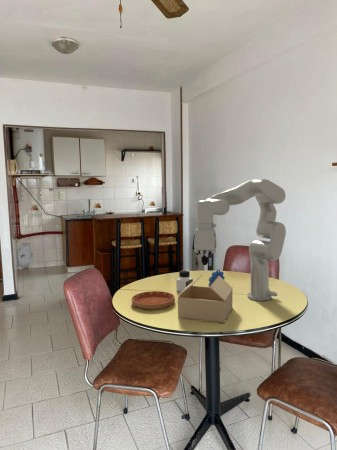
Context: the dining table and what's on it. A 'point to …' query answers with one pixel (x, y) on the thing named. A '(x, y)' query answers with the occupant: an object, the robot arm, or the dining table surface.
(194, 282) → the far flap
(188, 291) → the carton
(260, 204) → the robot arm
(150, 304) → the saucer
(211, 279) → the grapes
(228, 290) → the near flap
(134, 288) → the dining table surface
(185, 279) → the medicine bottle
